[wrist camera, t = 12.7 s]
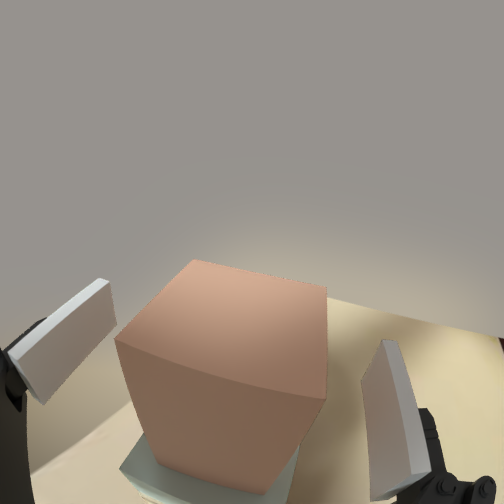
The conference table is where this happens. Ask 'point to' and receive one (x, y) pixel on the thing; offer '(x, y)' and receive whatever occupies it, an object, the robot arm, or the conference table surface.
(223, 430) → the tall block
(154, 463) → the tower upper block
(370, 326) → the conference table surface
